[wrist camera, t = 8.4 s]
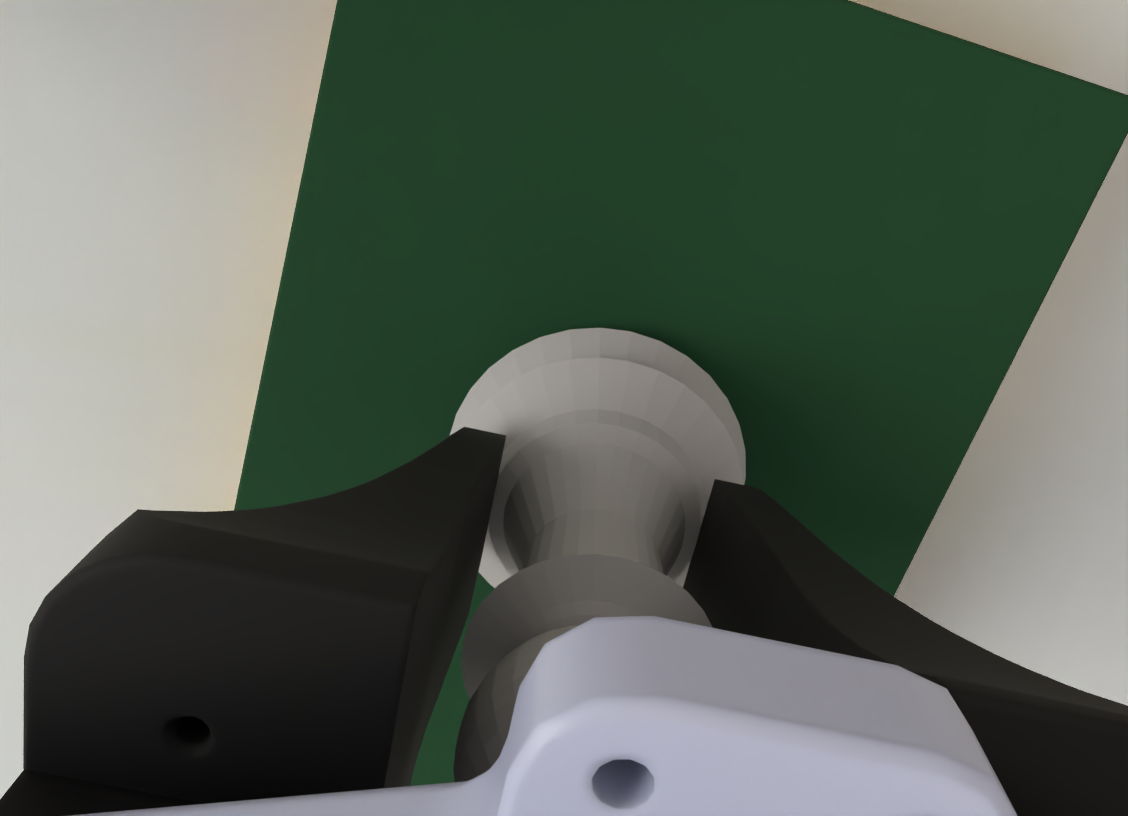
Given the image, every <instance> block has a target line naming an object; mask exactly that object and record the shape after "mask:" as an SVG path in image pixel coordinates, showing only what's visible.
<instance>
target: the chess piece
mask: <svg viewBox="0 0 1128 816" xmlns="http://www.w3.org/2000/svg"><path fill="white" fill-rule="evenodd" d="M463 427H468V428H473V429H478V430H483V431H488V432H492V433H497V434H502V435H506V440H505V445H504V450H503V455H502V460H501V465H500V469H499V474H498V479H497V484H496V489H495V494H494V499H493V504H492V509H491V514H490V518H489V524H488V529H487V533H486V538H485V543H484V548H483V553H482V558H481V563H480V567H479V571H478V572H479V573H480V574H481V575H482V576H483V577H484V578H485V579H486V581H487V582H488V583H489V584H490V585H491V586H493V587H494V588H495V589H494V590H493V591H492V592H491V593H490V594H489V595H488V596H487V597H486V598H485V599H484V600H483V601H482V602H481V604H480V606H479V607H478V609H477V610H476V612H475V614H474V615H473V617H472V618H471V620H470V622H469V625H468V628H467V631H466V634H465V637H464V640H463V647H462V657H461V666H462V674H463V681H464V685H465V688H466V691H467V693H468V696H469V699H470V700H469V702H468V705H467V708H466V711H465V714H464V716H463V719H462V722H461V726H460V730H459V734H458V739H457V744H456V749H455V758H454V768H453V772H454V779H455V782H462V781H469V780H471V779H473V778H476V777H477V776H479V775H481V774H483V773H485V772H486V771H488V770H489V769H490V768H491V767H492V765H493V764H494V763H495V762H496V761H497V759H498V758H499V756H500V754H501V751H502V749H503V747H504V744H505V742H506V739H507V737H508V733H509V729H510V724H511V720H512V716H513V711H514V707H515V703H516V698H517V694H518V690H519V686H520V684H521V683H522V681H523V679H524V678H525V676H526V674H527V673H528V671H529V669H530V668H531V666H532V664H533V663H534V661H535V659H536V658H537V656H538V654H539V652H540V651H541V649H542V647H543V646H544V644H545V643H547V642H549V641H551V640H553V639H554V638H556V637H558V636H560V635H562V634H564V633H566V632H568V631H569V630H571V629H573V628H575V627H577V626H579V625H581V624H583V623H584V622H586V621H588V620H590V619H592V618H594V617H627V616H657V617H662V618H667V619H672V620H677V621H682V622H687V623H692V624H696V625H701V626H706V627H711V628H713V627H712V625H711V623H710V622H709V620H708V618H707V616H706V614H705V612H704V610H703V609H702V608H701V607H700V606H699V604H698V603H697V602H696V601H695V600H694V598H693V597H692V596H691V595H690V594H689V593H688V592H687V591H686V590H685V589H683V585H684V582H685V579H686V575H687V572H688V568H689V565H690V562H691V558H692V555H693V552H694V549H695V546H696V542H697V539H698V535H699V532H700V528H701V524H702V521H703V517H704V514H705V511H706V507H707V504H708V500H709V497H710V494H711V490H712V487H713V483H714V480H715V479H717V480H722V481H727V482H732V483H736V484H741V485H744V483H745V478H746V458H745V446H744V442H743V438H742V433H741V429H740V425H739V422H738V420H737V418H736V416H735V414H734V412H733V410H732V407H731V405H730V403H729V401H728V399H727V397H726V396H725V395H724V394H723V392H722V391H721V390H720V388H719V387H718V386H717V384H716V383H715V382H714V380H713V379H712V378H711V377H710V375H709V374H707V373H706V372H705V371H704V370H703V369H702V368H700V367H699V366H698V365H697V364H696V363H695V362H693V361H692V360H691V359H690V358H689V357H688V356H686V355H684V354H683V353H681V352H679V351H677V350H675V349H674V348H672V347H670V346H668V345H667V344H665V343H663V342H661V341H658V340H655V339H652V338H649V337H646V336H643V335H640V334H637V333H634V332H631V331H623V330H615V329H607V328H587V329H571V330H566V331H562V332H558V333H554V334H550V335H547V336H543V337H539V338H537V339H535V340H533V341H531V342H529V343H527V344H525V345H522V346H520V347H518V348H516V349H514V350H512V351H511V352H510V353H508V354H507V355H506V356H504V357H503V358H502V359H500V360H499V361H498V362H496V363H495V364H494V365H492V366H491V367H490V368H488V370H487V371H486V372H485V373H484V374H483V375H482V376H481V378H480V379H479V380H478V381H477V382H476V383H475V384H474V385H473V387H472V388H471V389H470V390H469V392H468V394H467V396H466V398H465V399H464V401H463V403H462V405H461V406H460V408H459V410H458V412H457V413H456V417H455V420H454V423H453V426H452V430H451V433H450V435H451V434H453V433H455V432H456V431H458V430H460V429H461V428H463Z"/></svg>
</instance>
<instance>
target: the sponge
mask: <svg viewBox="0 0 1128 816" xmlns="http://www.w3.org/2000/svg"><path fill="white" fill-rule="evenodd" d="M1127 134H1128V95H1126V94H1123V93H1120V92H1117V91H1114V90H1111V89H1108V88H1105V87H1102V86H1099V85H1096V84H1093V83H1090V82H1087V81H1084V80H1081V79H1079V78H1076V77H1073V76H1070V75H1067V74H1064V73H1061V72H1058V71H1055V70H1052V69H1049V68H1046V67H1043V66H1040V65H1037V64H1034V63H1031V62H1028V61H1025V60H1022V59H1020V58H1017V57H1014V56H1011V55H1008V54H1005V53H1002V52H999V51H996V50H993V49H990V48H987V47H984V46H981V45H978V44H975V43H972V42H969V41H966V40H963V39H961V38H958V37H955V36H952V35H949V34H946V33H943V32H940V31H937V30H934V29H931V28H928V27H925V26H922V25H919V24H916V23H913V22H910V21H907V20H904V19H902V18H899V17H896V16H893V15H890V14H887V13H884V12H881V11H878V10H875V9H872V8H869V7H866V6H863V5H860V4H857V3H854V2H851V1H848V0H337V5H336V10H335V15H334V20H333V25H332V30H331V35H330V40H329V45H328V50H327V54H326V59H325V64H324V69H323V74H322V79H321V84H320V89H319V94H318V99H317V104H316V109H315V114H314V119H313V124H312V129H311V134H310V138H309V143H308V148H307V153H306V158H305V163H304V168H303V173H302V178H301V183H300V188H299V193H298V198H297V203H296V208H295V213H294V217H293V222H292V227H291V232H290V237H289V242H288V247H287V252H286V257H285V262H284V267H283V272H282V277H281V282H280V287H279V292H278V296H277V301H276V306H275V311H274V316H273V321H272V326H271V331H270V336H269V341H268V346H267V351H266V356H265V361H264V366H263V371H262V375H261V380H260V385H259V390H258V395H257V400H256V405H255V410H254V415H253V420H252V425H251V430H250V435H249V440H248V445H247V450H246V454H245V459H244V464H243V469H242V474H241V479H240V484H239V489H238V494H237V499H236V504H235V509H234V511H235V510H249V509H258V508H267V507H275V506H281V505H286V504H290V503H295V502H300V501H305V500H310V499H315V498H319V497H324V496H327V495H331V494H334V493H337V492H340V491H344V490H347V489H350V488H353V487H356V486H358V485H361V484H364V483H366V482H369V481H371V480H373V479H376V478H378V477H380V476H382V475H384V474H386V473H388V472H390V471H392V470H394V469H396V468H398V467H400V466H402V465H404V464H406V463H408V462H410V461H411V460H413V459H415V458H416V457H418V456H419V455H421V454H423V453H424V452H426V451H428V450H429V449H431V448H432V447H434V446H435V445H437V444H438V443H440V442H441V441H443V440H444V439H446V438H447V437H448V436H450V433H451V430H452V426H453V423H454V420H455V417H456V413H457V412H458V410H459V408H460V406H461V405H462V403H463V401H464V399H465V398H466V396H467V394H468V392H469V390H470V389H471V388H472V387H473V385H474V384H475V383H476V382H477V381H478V380H479V379H480V378H481V376H482V375H483V374H484V373H485V372H486V371H487V370H488V368H490V367H491V366H492V365H494V364H495V363H496V362H498V361H499V360H500V359H502V358H503V357H504V356H506V355H507V354H508V353H510V352H511V351H512V350H514V349H516V348H518V347H520V346H522V345H525V344H527V343H529V342H531V341H533V340H535V339H537V338H539V337H543V336H547V335H550V334H554V333H558V332H562V331H566V330H571V329H587V328H607V329H615V330H623V331H631V332H634V333H637V334H640V335H643V336H646V337H649V338H652V339H655V340H658V341H661V342H663V343H665V344H667V345H668V346H670V347H672V348H674V349H675V350H677V351H679V352H681V353H683V354H684V355H686V356H688V357H689V358H690V359H691V360H692V361H693V362H695V363H696V364H697V365H698V366H699V367H700V368H702V369H703V370H704V371H705V372H706V373H707V374H709V375H710V377H711V378H712V379H713V380H714V382H715V383H716V384H717V386H718V387H719V388H720V390H721V391H722V392H723V394H724V395H725V396H726V397H727V399H728V401H729V403H730V405H731V407H732V410H733V412H734V414H735V416H736V418H737V420H738V422H739V425H740V429H741V433H742V438H743V442H744V446H745V458H746V478H745V483H744V485H746V486H751V487H756V488H758V489H760V490H761V491H763V492H765V493H766V494H767V495H769V496H770V497H771V498H773V499H774V500H775V501H776V502H777V503H779V504H780V505H781V506H782V507H783V508H784V509H786V510H787V511H788V512H789V513H790V514H791V515H792V516H794V517H795V518H796V519H797V520H798V521H799V522H800V523H801V524H803V525H804V526H805V527H806V528H807V529H808V530H809V531H811V532H812V533H813V534H814V535H815V536H816V537H817V538H819V539H820V540H821V541H822V542H823V543H824V544H826V545H827V546H828V547H829V548H830V549H831V550H833V551H834V552H835V553H836V554H837V555H839V556H840V557H841V558H842V559H844V560H845V561H846V562H847V563H848V564H850V565H851V566H852V567H854V568H855V569H856V570H858V571H859V572H860V573H862V574H863V575H864V576H865V577H867V578H868V579H869V580H871V581H872V582H873V583H875V584H876V585H877V586H879V587H880V588H882V589H883V590H884V591H886V592H887V593H889V594H890V595H892V596H893V597H894V595H895V593H896V591H897V589H898V587H899V585H900V583H901V581H902V579H903V577H904V575H905V573H906V571H907V569H908V567H909V565H910V563H911V561H912V559H913V557H914V555H915V553H916V551H917V549H918V547H919V545H920V543H921V541H922V539H923V537H924V535H925V533H926V531H927V529H928V527H929V525H930V523H931V521H932V519H933V518H934V516H935V514H936V512H937V510H938V508H939V506H940V504H941V502H942V500H943V498H944V496H945V494H946V492H947V490H948V488H949V486H950V484H951V482H952V480H953V478H954V476H955V474H956V472H957V470H958V468H959V466H960V464H961V462H962V460H963V458H964V456H965V454H966V452H967V450H968V448H969V446H970V444H971V442H972V440H973V438H974V436H975V434H976V432H977V430H978V428H979V427H980V425H981V423H982V421H983V419H984V417H985V415H986V413H987V411H988V409H989V407H990V405H991V403H992V401H993V399H994V397H995V395H996V393H997V391H998V389H999V387H1000V385H1001V383H1002V381H1003V379H1004V377H1005V375H1006V373H1007V371H1008V369H1009V367H1010V365H1011V363H1012V361H1013V359H1014V357H1015V355H1016V353H1017V351H1018V349H1019V347H1020V345H1021V343H1022V341H1023V339H1024V337H1025V335H1026V334H1027V332H1028V330H1029V328H1030V326H1031V324H1032V322H1033V320H1034V318H1035V316H1036V314H1037V312H1038V310H1039V308H1040V306H1041V304H1042V302H1043V300H1044V298H1045V296H1046V294H1047V292H1048V290H1049V288H1050V286H1051V284H1052V282H1053V280H1054V278H1055V276H1056V274H1057V272H1058V270H1059V268H1060V266H1061V264H1062V262H1063V260H1064V258H1065V256H1066V254H1067V252H1068V250H1069V248H1070V246H1071V244H1072V243H1073V241H1074V239H1075V237H1076V235H1077V233H1078V231H1079V229H1080V227H1081V225H1082V223H1083V221H1084V219H1085V217H1086V215H1087V213H1088V211H1089V209H1090V207H1091V205H1092V203H1093V201H1094V199H1095V197H1096V195H1097V193H1098V191H1099V189H1100V187H1101V185H1102V183H1103V181H1104V179H1105V177H1106V175H1107V173H1108V171H1109V169H1110V167H1111V165H1112V163H1113V161H1114V159H1115V157H1116V155H1117V153H1118V152H1119V150H1120V148H1121V146H1122V144H1123V142H1124V140H1125V138H1126V136H1127ZM494 589H495V588H494V587H493V586H491V585H490V584H489V583H488V582H487V581H486V579H485V578H484V577H483V576H482V575H481V574H480V573H479V572H478V576H477V580H476V585H475V589H474V593H473V598H472V602H471V606H470V611H469V615H468V617H467V620H466V623H465V626H464V628H463V631H462V634H461V637H460V639H459V642H458V645H457V647H456V650H455V653H454V656H453V658H452V661H451V664H450V666H449V669H448V672H447V674H446V677H445V680H444V682H443V685H442V688H441V690H440V693H439V696H438V698H437V701H436V704H435V707H434V709H433V712H432V715H431V717H430V720H429V723H428V725H427V728H426V731H425V734H424V737H423V740H422V744H421V747H420V750H419V753H418V756H417V760H416V764H415V768H414V772H413V776H412V780H411V784H410V786H416V785H427V784H439V783H451V782H455V779H454V772H453V768H454V758H455V749H456V744H457V739H458V734H459V730H460V726H461V722H462V719H463V716H464V714H465V711H466V708H467V705H468V702H469V700H470V699H469V696H468V693H467V691H466V688H465V685H464V681H463V674H462V666H461V657H462V647H463V640H464V637H465V634H466V631H467V628H468V625H469V622H470V620H471V618H472V617H473V615H474V614H475V612H476V610H477V609H478V607H479V606H480V604H481V602H482V601H483V600H484V599H485V598H486V597H487V596H488V595H489V594H490V593H491V592H492V591H493V590H494Z"/></svg>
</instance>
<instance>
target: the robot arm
mask: <svg viewBox="0 0 1128 816" xmlns="http://www.w3.org/2000/svg"><path fill="white" fill-rule="evenodd" d="M505 440H506V435H502V434H497V433H492V432H488V431H483V430H478V429H473V428H468V427H463V428H461V429H460V430H458V431H456V432H455V433H453V434H451V435H450V436H448V437H447V438H446V439H444V440H443V441H441V442H440V443H438V444H437V445H435V446H434V447H432V448H431V449H429V450H428V451H426V452H424V453H423V454H421V455H419V456H418V457H416V458H415V459H413V460H411V461H410V462H408V463H406V464H404V465H402V466H400V467H398V468H396V469H394V470H392V471H390V472H388V473H386V474H384V475H382V476H380V477H378V478H376V479H373V480H371V481H369V482H366V483H364V484H361V485H358V486H356V487H353V488H350V489H347V490H344V491H340V492H337V493H334V494H331V495H327V496H324V497H319V498H315V499H310V500H305V501H300V502H295V503H290V504H286V505H281V506H275V507H267V508H258V509H249V510H235V511H219V512H187V511H151V510H137V511H136V512H134V513H133V514H132V515H131V516H130V517H128V518H127V519H126V520H125V521H124V522H122V523H121V524H120V525H119V526H117V527H116V528H115V529H114V530H113V531H111V532H110V533H109V534H108V535H107V536H106V537H105V538H104V539H103V540H102V541H101V542H100V543H99V544H98V545H97V546H95V547H94V548H93V549H92V550H91V551H90V552H89V553H88V554H87V555H86V556H85V557H84V558H83V559H82V560H81V561H80V562H79V563H78V564H77V565H76V566H75V567H74V568H73V569H72V570H71V571H70V572H69V573H68V574H67V575H66V576H65V577H64V578H63V579H62V580H61V581H60V582H59V583H58V584H57V585H56V586H55V587H54V589H53V590H52V591H51V592H50V593H49V594H48V595H47V596H46V597H45V598H44V600H43V602H42V604H41V606H40V607H39V609H38V611H37V613H36V614H35V616H34V618H33V620H32V622H31V623H30V625H29V631H28V637H27V643H26V649H25V655H24V770H23V772H22V773H21V774H20V775H19V777H18V778H17V779H16V781H15V782H14V783H13V784H12V786H11V787H10V788H9V789H8V791H7V792H6V793H5V794H4V796H3V797H2V798H1V799H0V816H1128V706H1126V705H1123V704H1120V703H1117V702H1114V701H1111V700H1108V699H1105V698H1102V697H1099V696H1096V695H1093V694H1090V693H1087V692H1084V691H1081V690H1078V689H1076V688H1073V687H1070V686H1068V685H1065V684H1063V683H1060V682H1058V681H1056V680H1053V679H1051V678H1048V677H1046V676H1043V675H1041V674H1038V673H1036V672H1033V671H1031V670H1029V669H1026V668H1024V667H1022V666H1019V665H1017V664H1015V663H1013V662H1011V661H1008V660H1006V659H1004V658H1002V657H1000V656H997V655H995V654H993V653H991V652H989V651H987V650H985V649H983V648H981V647H979V646H977V645H976V644H974V643H972V642H970V641H968V640H966V639H964V638H962V637H960V636H958V635H956V634H954V633H952V632H950V631H949V630H947V629H945V628H943V627H942V626H940V625H938V624H936V623H934V622H933V621H931V620H929V619H928V618H926V617H925V616H923V615H921V614H920V613H918V612H917V611H915V610H913V609H912V608H910V607H909V606H907V605H906V604H904V603H902V602H901V601H899V600H898V599H896V598H895V597H893V596H892V595H890V594H889V593H887V592H886V591H884V590H883V589H882V588H880V587H879V586H877V585H876V584H875V583H873V582H872V581H871V580H869V579H868V578H867V577H865V576H864V575H863V574H862V573H860V572H859V571H858V570H856V569H855V568H854V567H852V566H851V565H850V564H848V563H847V562H846V561H845V560H844V559H842V558H841V557H840V556H839V555H837V554H836V553H835V552H834V551H833V550H831V549H830V548H829V547H828V546H827V545H826V544H824V543H823V542H822V541H821V540H820V539H819V538H817V537H816V536H815V535H814V534H813V533H812V532H811V531H809V530H808V529H807V528H806V527H805V526H804V525H803V524H801V523H800V522H799V521H798V520H797V519H796V518H795V517H794V516H792V515H791V514H790V513H789V512H788V511H787V510H786V509H784V508H783V507H782V506H781V505H780V504H779V503H777V502H776V501H775V500H774V499H773V498H771V497H770V496H769V495H767V494H766V493H765V492H763V491H761V490H760V489H758V488H756V487H751V486H746V485H741V484H736V483H732V482H727V481H722V480H717V479H715V480H714V483H713V487H712V490H711V494H710V497H709V500H708V504H707V507H706V511H705V514H704V517H703V521H702V524H701V528H700V532H699V535H698V539H697V542H696V546H695V549H694V552H693V555H692V558H691V562H690V565H689V568H688V572H687V575H686V579H685V582H684V585H683V589H685V590H686V591H687V592H688V593H689V594H690V595H691V596H692V597H693V598H694V600H695V601H696V602H697V603H698V604H699V606H700V607H701V608H702V609H703V610H704V612H705V614H706V616H707V618H708V620H709V622H710V623H711V625H712V627H713V628H711V627H706V626H701V625H696V624H692V623H687V622H682V621H677V620H672V619H667V618H662V617H657V616H627V617H594V618H592V619H590V620H588V621H586V622H584V623H583V624H581V625H579V626H577V627H575V628H573V629H571V630H569V631H568V632H566V633H564V634H562V635H560V636H558V637H556V638H554V639H553V640H551V641H549V642H547V643H545V644H544V646H543V647H542V649H541V651H540V652H539V654H538V656H537V658H536V659H535V661H534V663H533V664H532V666H531V668H530V669H529V671H528V673H527V674H526V676H525V678H524V679H523V681H522V683H521V684H520V686H519V690H518V694H517V698H516V703H515V707H514V711H513V716H512V720H511V724H510V729H509V733H508V737H507V739H506V742H505V744H504V747H503V749H502V751H501V754H500V756H499V758H498V759H497V761H496V762H495V763H494V764H493V765H492V767H491V768H490V769H489V770H488V771H486V772H485V773H483V774H481V775H479V776H477V777H476V778H473V779H471V780H469V781H462V782H451V783H439V784H427V785H416V786H410V784H411V780H412V776H413V772H414V768H415V764H416V760H417V756H418V753H419V750H420V747H421V744H422V740H423V737H424V734H425V731H426V728H427V725H428V723H429V720H430V717H431V715H432V712H433V709H434V707H435V704H436V701H437V698H438V696H439V693H440V690H441V688H442V685H443V682H444V680H445V677H446V674H447V672H448V669H449V666H450V664H451V661H452V658H453V656H454V653H455V650H456V647H457V645H458V642H459V639H460V637H461V634H462V631H463V628H464V626H465V623H466V620H467V617H468V615H469V611H470V606H471V602H472V598H473V593H474V589H475V585H476V580H477V576H478V571H479V567H480V563H481V558H482V553H483V548H484V543H485V538H486V533H487V529H488V524H489V518H490V514H491V509H492V504H493V499H494V494H495V489H496V484H497V479H498V474H499V469H500V465H501V460H502V455H503V450H504V445H505Z"/></svg>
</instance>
